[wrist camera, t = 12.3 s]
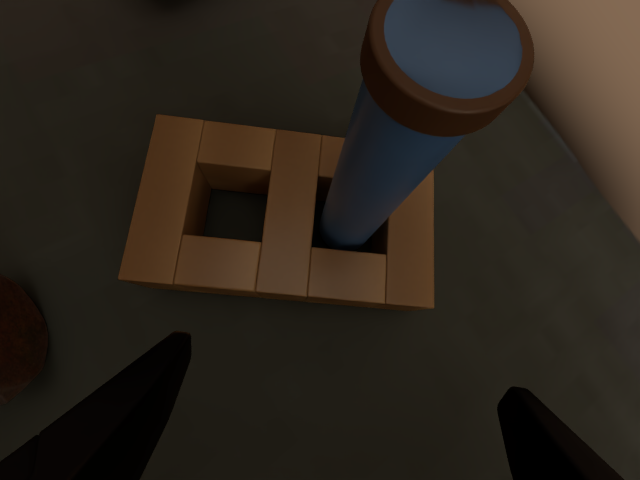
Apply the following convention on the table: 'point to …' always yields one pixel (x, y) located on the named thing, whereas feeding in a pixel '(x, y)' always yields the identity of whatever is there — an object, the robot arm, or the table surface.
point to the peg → (420, 102)
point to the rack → (268, 222)
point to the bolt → (19, 340)
